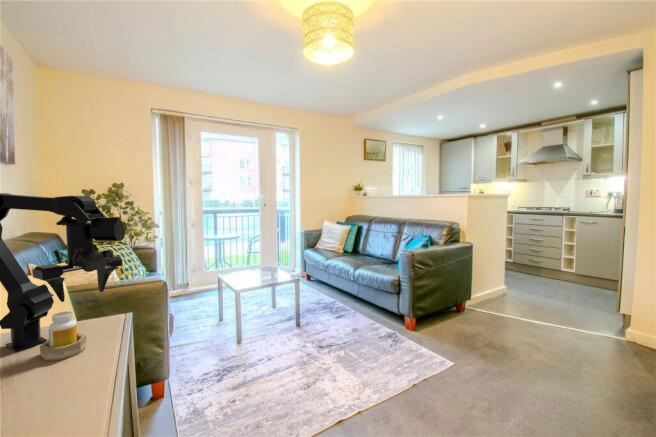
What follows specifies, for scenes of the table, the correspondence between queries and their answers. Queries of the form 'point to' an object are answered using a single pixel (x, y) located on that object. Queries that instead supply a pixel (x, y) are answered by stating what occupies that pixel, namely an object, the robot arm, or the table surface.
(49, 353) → the can holder
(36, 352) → the table surface
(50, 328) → the supplement bottle
